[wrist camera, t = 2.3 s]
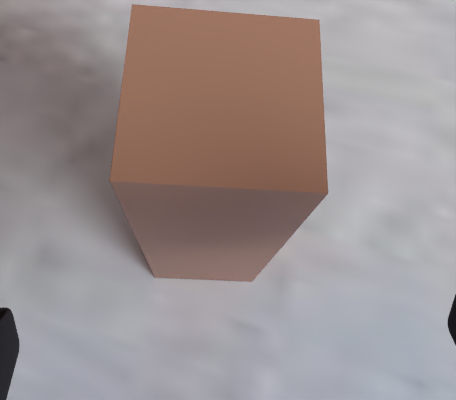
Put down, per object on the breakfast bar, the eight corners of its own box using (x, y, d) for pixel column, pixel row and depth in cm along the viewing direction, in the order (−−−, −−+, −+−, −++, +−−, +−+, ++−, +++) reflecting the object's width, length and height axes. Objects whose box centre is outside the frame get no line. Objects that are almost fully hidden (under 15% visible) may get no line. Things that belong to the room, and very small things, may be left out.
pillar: (251, 281, 20) (328, 193, 9) (155, 277, 20) (109, 181, 9) (252, 191, 22) (319, 19, 11) (162, 186, 22) (131, 4, 10)
